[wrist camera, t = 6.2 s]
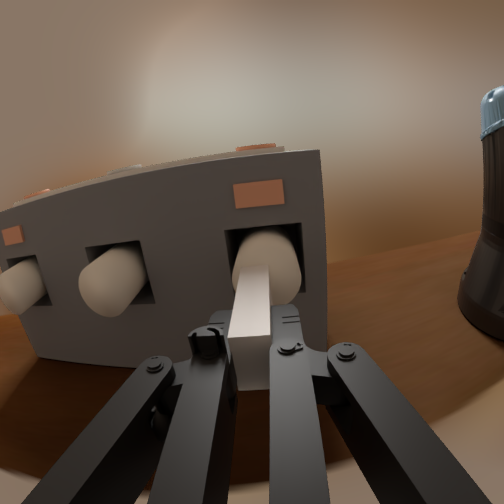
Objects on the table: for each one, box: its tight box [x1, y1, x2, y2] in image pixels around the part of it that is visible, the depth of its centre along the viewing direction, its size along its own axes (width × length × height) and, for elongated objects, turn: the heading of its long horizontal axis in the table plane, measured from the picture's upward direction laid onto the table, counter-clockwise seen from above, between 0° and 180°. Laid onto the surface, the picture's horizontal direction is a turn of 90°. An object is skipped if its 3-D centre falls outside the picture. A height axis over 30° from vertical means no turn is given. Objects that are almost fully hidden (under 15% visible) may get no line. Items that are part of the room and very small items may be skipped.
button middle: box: [78, 240, 149, 317], centre depth 21 cm, size 4×6×4 cm
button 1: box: [0, 254, 48, 315], centre depth 21 cm, size 4×6×4 cm
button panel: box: [0, 143, 327, 368], centre depth 25 cm, size 30×9×17 cm, turn 87°
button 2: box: [232, 225, 301, 306], centre depth 20 cm, size 4×6×4 cm
